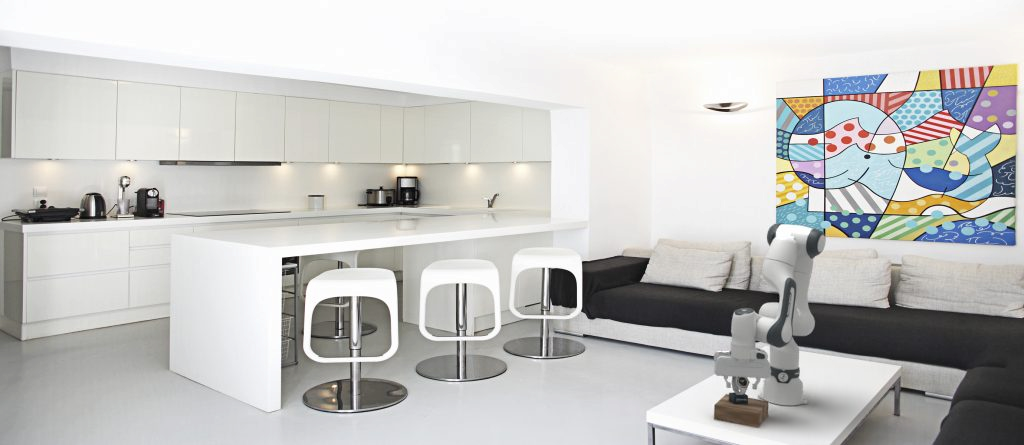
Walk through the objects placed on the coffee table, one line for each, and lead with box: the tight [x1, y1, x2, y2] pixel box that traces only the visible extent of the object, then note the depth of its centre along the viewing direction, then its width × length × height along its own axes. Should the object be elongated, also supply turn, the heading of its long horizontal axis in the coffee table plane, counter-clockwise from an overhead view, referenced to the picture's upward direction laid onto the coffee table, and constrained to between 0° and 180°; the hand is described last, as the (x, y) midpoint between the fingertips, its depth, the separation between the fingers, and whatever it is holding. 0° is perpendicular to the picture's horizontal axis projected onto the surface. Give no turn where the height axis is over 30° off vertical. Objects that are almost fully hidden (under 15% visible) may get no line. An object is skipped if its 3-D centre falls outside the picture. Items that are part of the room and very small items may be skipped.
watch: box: [728, 377, 750, 404], centre depth 273 cm, size 6×8×11 cm
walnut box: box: [713, 393, 770, 429], centre depth 273 cm, size 16×16×6 cm
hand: (741, 388), depth 272 cm, fingers open, 8 cm apart
